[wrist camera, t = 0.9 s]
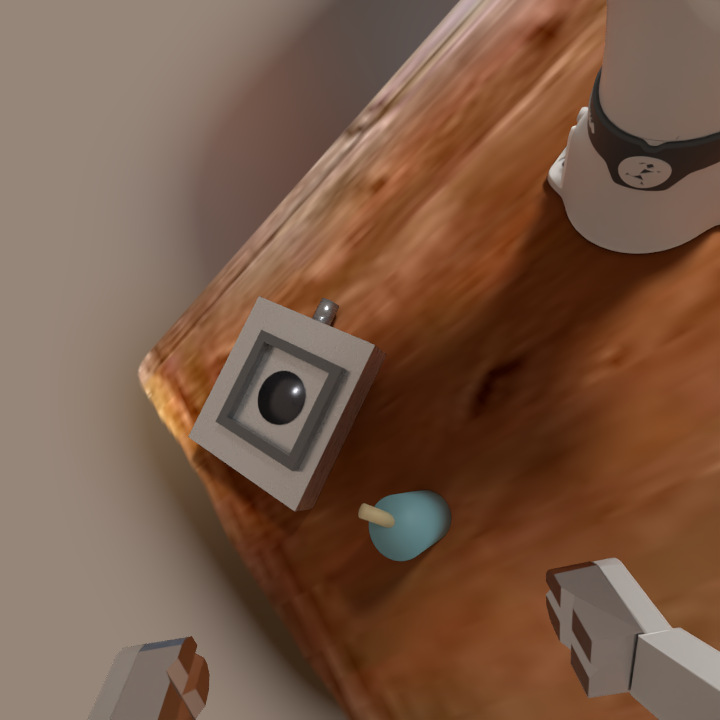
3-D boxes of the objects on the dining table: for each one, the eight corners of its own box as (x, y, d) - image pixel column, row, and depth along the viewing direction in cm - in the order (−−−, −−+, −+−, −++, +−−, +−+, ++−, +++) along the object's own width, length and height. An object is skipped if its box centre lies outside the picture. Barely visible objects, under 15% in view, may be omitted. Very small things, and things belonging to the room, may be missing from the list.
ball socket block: (285, 287, 58) (263, 271, 54) (397, 331, 50) (383, 317, 46) (210, 439, 57) (181, 436, 52) (312, 508, 49) (289, 512, 44)
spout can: (409, 477, 46) (369, 479, 35) (459, 505, 43) (433, 517, 32) (388, 521, 45) (342, 537, 34) (438, 553, 43) (404, 580, 32)
